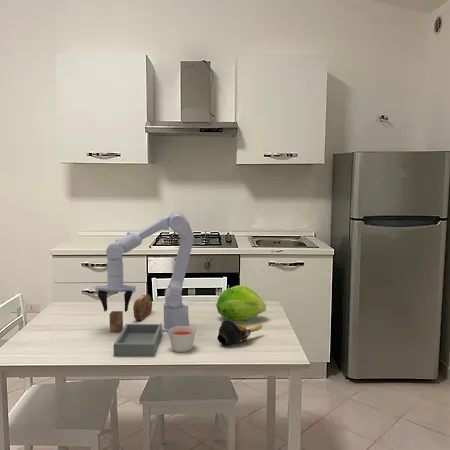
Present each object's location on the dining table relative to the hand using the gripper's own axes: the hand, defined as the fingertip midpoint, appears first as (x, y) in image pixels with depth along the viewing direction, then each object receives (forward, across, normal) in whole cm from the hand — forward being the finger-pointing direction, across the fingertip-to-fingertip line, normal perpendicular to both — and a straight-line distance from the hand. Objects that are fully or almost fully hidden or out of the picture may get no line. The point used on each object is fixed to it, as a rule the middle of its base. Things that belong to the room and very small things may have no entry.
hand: (115, 310), depth 176 cm
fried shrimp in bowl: (+8, -46, +10) cm, 48 cm away
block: (+8, 0, 0) cm, 8 cm away
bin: (+8, -11, +14) cm, 19 cm away
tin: (+8, -7, -17) cm, 20 cm away
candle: (+8, -26, +17) cm, 32 cm away
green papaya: (+8, -47, -14) cm, 50 cm away
